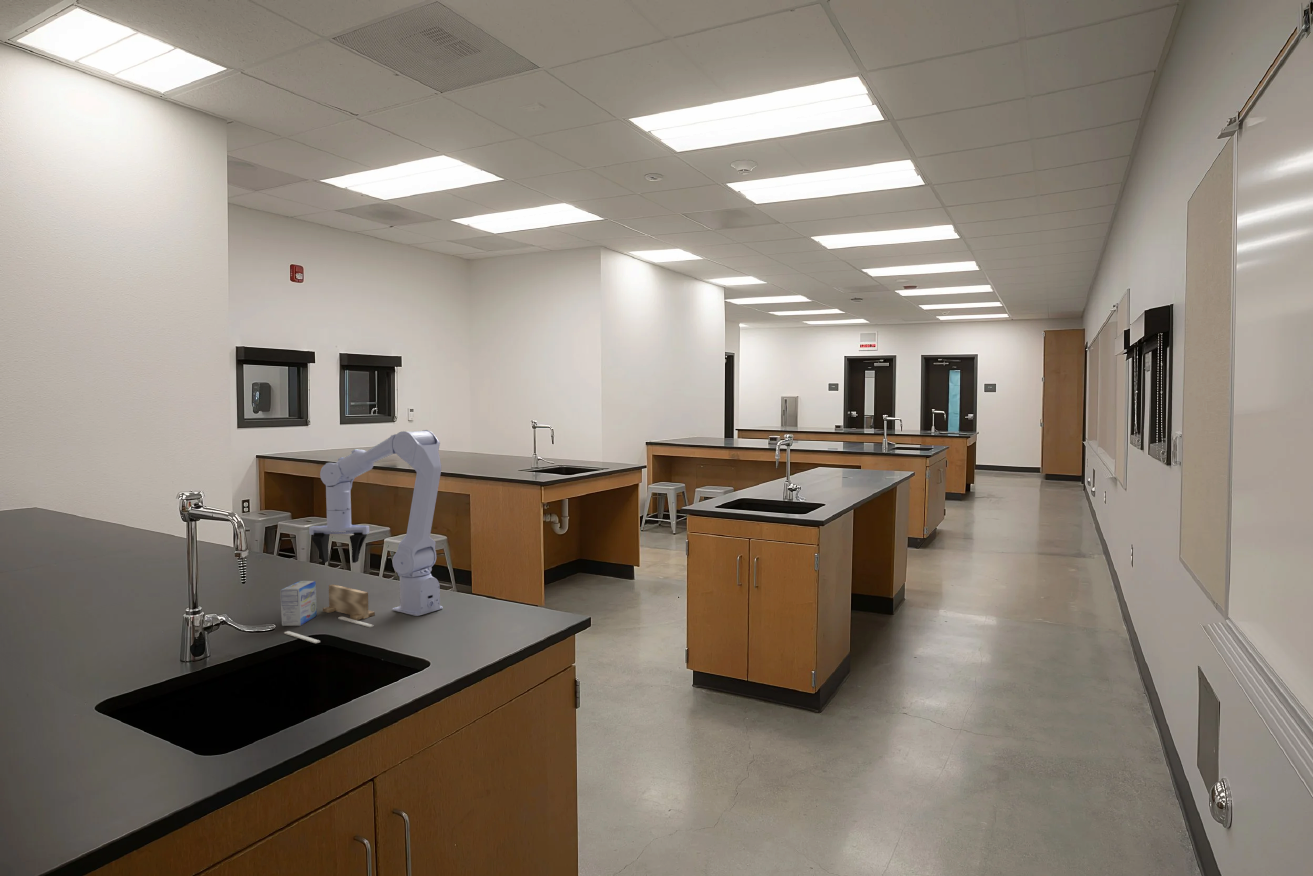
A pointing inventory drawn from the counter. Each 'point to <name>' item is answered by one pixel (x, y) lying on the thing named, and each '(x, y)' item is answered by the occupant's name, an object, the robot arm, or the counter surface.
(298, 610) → the medicine box
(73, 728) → the counter surface
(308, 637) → the tape marks
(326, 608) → the wooden board with feet
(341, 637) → the counter surface
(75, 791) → the counter surface
